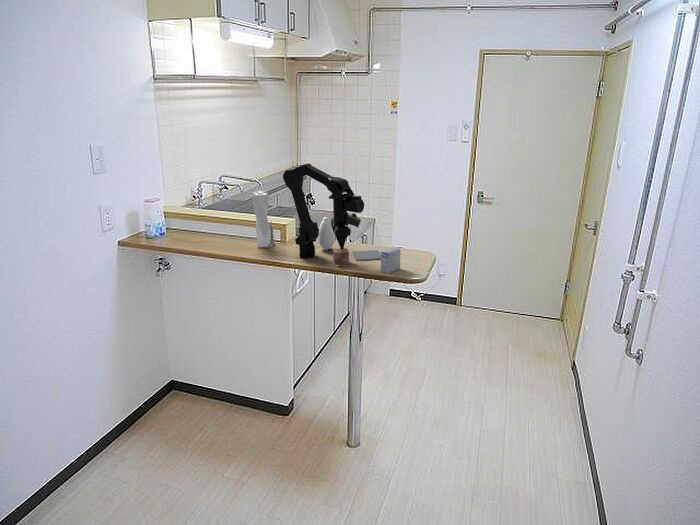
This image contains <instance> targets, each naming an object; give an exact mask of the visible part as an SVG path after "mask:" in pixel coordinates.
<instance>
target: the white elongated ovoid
mask: <svg viewBox="0 0 700 525" xmlns="http://www.w3.org/2000/svg"><path fill="white" fill-rule="evenodd" d="M318 229H319V235H318V237H317V240H318V244H319V246H320V247H321V248H322V249H323V250H325V251H329V250H331V248H333V246H334V245H335V241H336V236H335V234H334V231H333V229H332V226H331V219H330V217H327V213H325V216H324V217H323V219H322V221H321V223H320V225H319V226H318ZM328 249H329V250H328Z"/></svg>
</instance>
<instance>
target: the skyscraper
mask: <svg viewBox="0 0 700 525" xmlns="http://www.w3.org/2000/svg"><path fill="white" fill-rule="evenodd" d="M252 203H253V211H254V215H255V221H256V222H255V225H256V226H255V229H256V230H255V232H256V245H257V249H267V248H268V249H272V248H273V247H274V245H275V244H274V243H275V240H274V239H275V238H274V227H273V222H272V221H270V222H269V219H268V212H269V193H268V191H267V190H265V189H257V191H252ZM269 223H270V225H269Z"/></svg>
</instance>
